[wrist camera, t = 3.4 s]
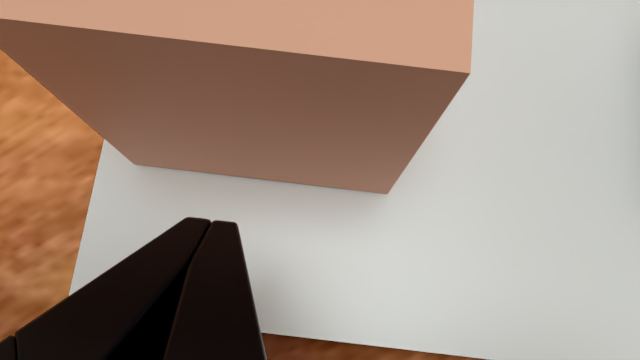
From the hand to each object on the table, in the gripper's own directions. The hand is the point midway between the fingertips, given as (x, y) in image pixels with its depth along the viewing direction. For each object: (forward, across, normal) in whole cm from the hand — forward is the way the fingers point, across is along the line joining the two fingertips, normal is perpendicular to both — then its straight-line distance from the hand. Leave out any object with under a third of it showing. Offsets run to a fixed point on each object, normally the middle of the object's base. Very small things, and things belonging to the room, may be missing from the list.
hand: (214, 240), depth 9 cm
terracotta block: (+8, 0, 0) cm, 8 cm away
